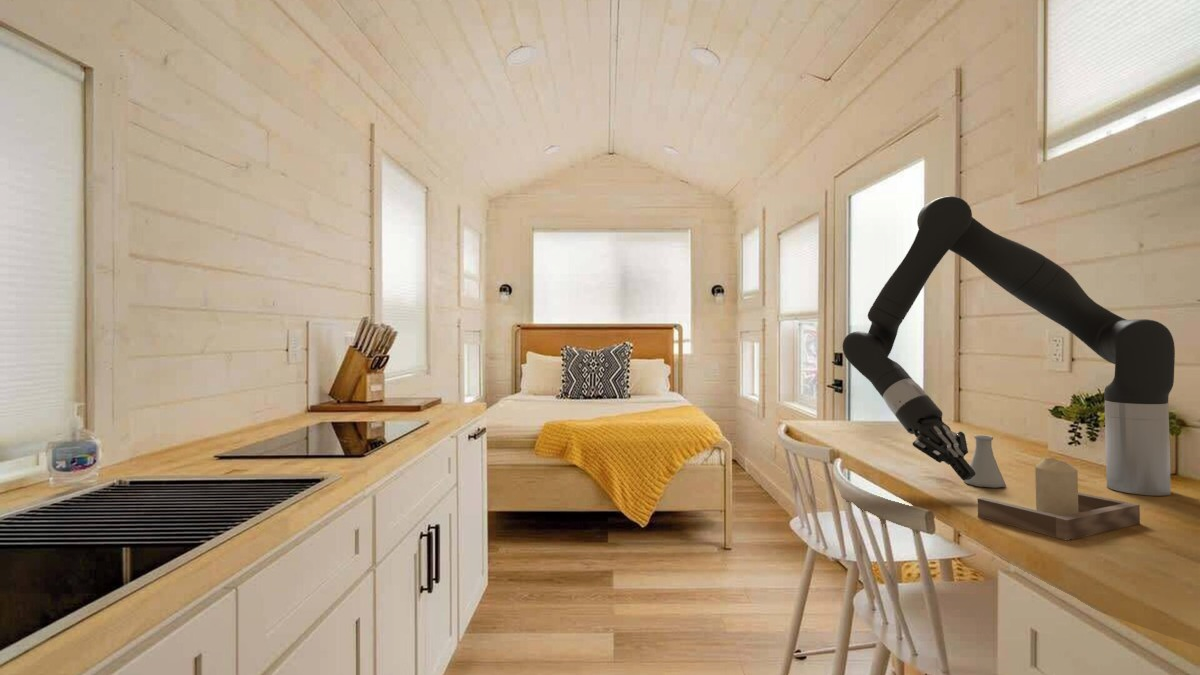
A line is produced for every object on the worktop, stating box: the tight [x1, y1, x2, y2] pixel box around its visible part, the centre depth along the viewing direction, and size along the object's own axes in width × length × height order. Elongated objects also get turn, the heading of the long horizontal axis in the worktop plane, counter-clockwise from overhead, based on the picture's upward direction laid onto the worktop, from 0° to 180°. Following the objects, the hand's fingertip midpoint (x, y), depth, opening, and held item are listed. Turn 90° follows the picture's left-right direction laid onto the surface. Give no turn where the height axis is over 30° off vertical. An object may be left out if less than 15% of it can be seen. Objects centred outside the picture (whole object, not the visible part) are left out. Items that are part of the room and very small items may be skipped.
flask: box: [963, 434, 1007, 489], centre depth 121 cm, size 7×7×10 cm
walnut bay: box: [977, 492, 1141, 541], centre depth 97 cm, size 19×14×3 cm
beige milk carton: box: [1034, 457, 1079, 516], centre depth 97 cm, size 6×6×10 cm
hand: (969, 477), depth 110 cm, fingers closed
